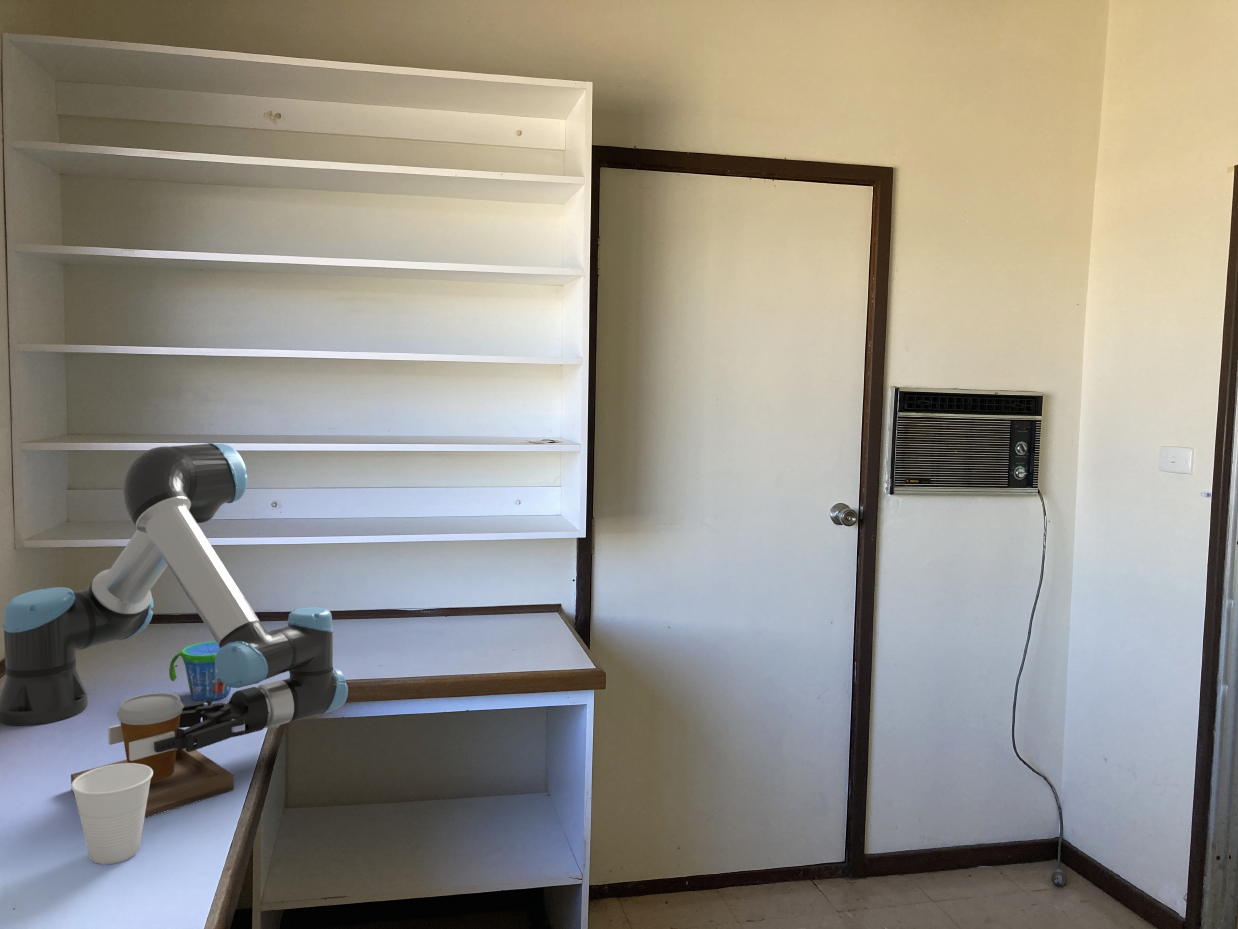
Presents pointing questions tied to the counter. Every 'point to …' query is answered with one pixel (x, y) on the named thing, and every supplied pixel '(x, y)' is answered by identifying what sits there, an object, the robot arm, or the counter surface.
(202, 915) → the counter surface
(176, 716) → the disposable coffee cup
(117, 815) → the cup
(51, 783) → the counter surface
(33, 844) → the counter surface
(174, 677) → the snack cup
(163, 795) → the tray
